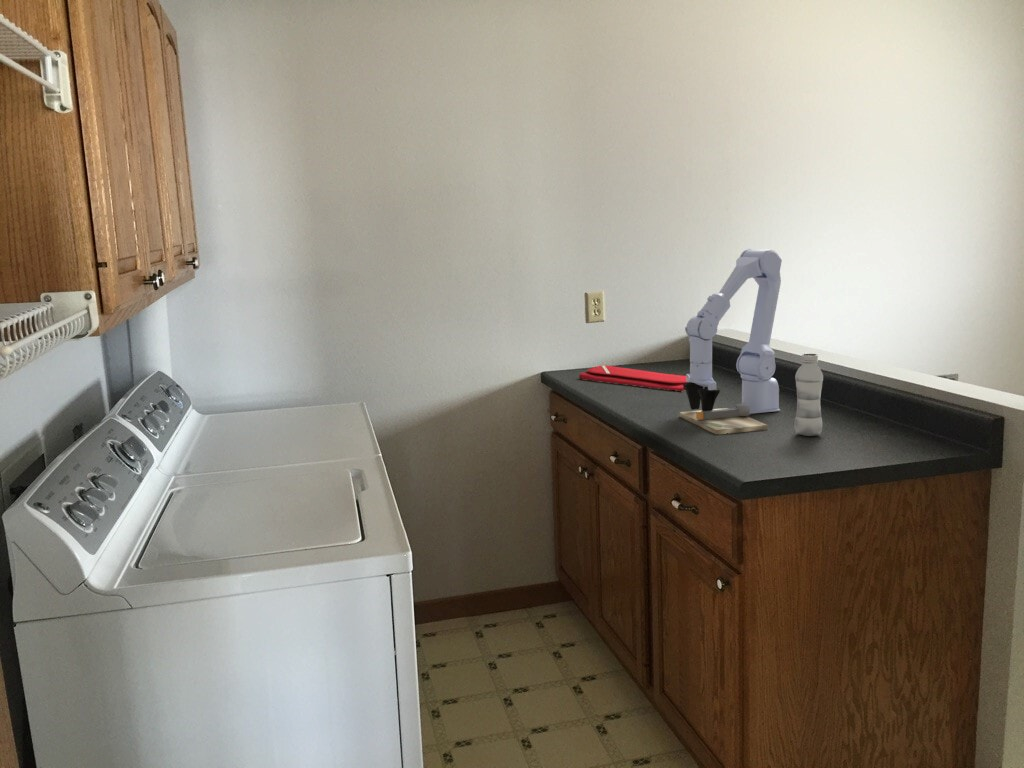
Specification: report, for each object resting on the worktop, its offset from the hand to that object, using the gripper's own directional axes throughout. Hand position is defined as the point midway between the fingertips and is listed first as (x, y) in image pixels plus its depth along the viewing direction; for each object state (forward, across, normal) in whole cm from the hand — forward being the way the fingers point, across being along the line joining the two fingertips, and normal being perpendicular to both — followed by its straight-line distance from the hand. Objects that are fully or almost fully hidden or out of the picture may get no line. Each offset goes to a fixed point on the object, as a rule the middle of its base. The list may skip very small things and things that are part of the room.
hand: (700, 412), depth 242 cm
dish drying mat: (+3, -57, +5) cm, 57 cm away
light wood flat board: (+2, +6, +3) cm, 7 cm away
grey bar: (0, +6, +3) cm, 7 cm away
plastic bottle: (+2, +26, +16) cm, 31 cm away
